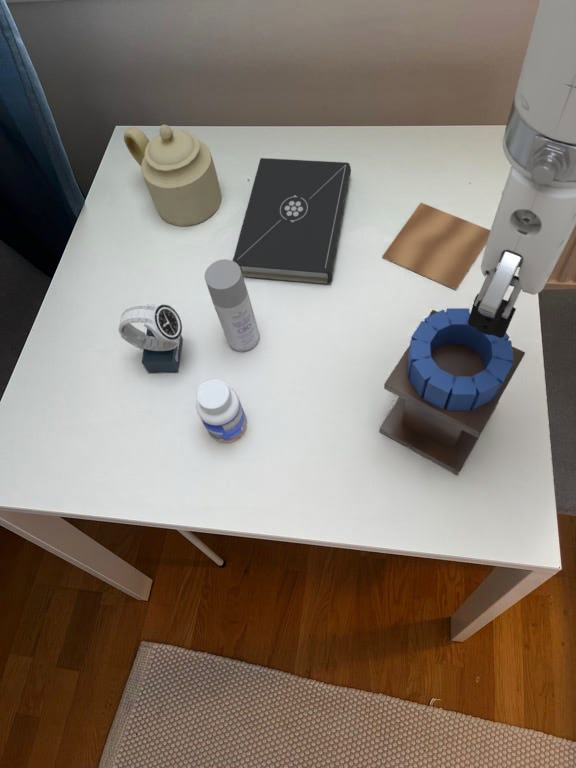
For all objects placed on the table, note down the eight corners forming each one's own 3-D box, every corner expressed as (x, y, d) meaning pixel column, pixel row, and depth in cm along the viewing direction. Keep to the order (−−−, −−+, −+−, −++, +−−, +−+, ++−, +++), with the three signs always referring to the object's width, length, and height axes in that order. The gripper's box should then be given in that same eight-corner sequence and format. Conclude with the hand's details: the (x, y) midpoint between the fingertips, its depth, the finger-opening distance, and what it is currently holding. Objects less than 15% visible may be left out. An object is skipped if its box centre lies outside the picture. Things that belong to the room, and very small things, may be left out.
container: (247, 357, 81) (227, 296, 68) (221, 343, 83) (195, 280, 69) (266, 332, 83) (249, 267, 70) (239, 319, 84) (218, 252, 71)
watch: (192, 372, 81) (170, 331, 71) (136, 373, 82) (107, 332, 72) (196, 337, 84) (175, 293, 74) (142, 339, 85) (114, 295, 75)
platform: (496, 405, 74) (525, 352, 62) (457, 475, 71) (479, 434, 58) (419, 367, 78) (432, 309, 66) (378, 431, 75) (384, 383, 62)
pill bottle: (199, 425, 77) (180, 394, 69) (229, 398, 79) (213, 364, 70) (226, 451, 75) (209, 423, 67) (256, 423, 77) (243, 392, 68)
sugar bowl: (127, 224, 95) (90, 151, 81) (144, 174, 100) (112, 97, 86) (215, 228, 92) (191, 153, 79) (228, 177, 97) (208, 98, 84)
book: (331, 285, 85) (331, 272, 83) (235, 276, 88) (231, 264, 85) (351, 176, 94) (351, 162, 92) (262, 171, 97) (260, 157, 94)
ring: (519, 353, 62) (529, 334, 58) (477, 427, 59) (485, 412, 55) (434, 314, 65) (439, 293, 62) (390, 382, 62) (392, 364, 58)
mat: (492, 233, 87) (493, 231, 86) (455, 290, 83) (456, 288, 82) (420, 204, 90) (420, 202, 90) (382, 257, 87) (382, 256, 86)
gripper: (583, 246, 32) (511, 382, 47) (674, 56, 38) (584, 232, 53) (455, 203, 34) (426, 345, 50) (560, 30, 40) (504, 206, 55)
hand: (507, 287), depth 51 cm, fingers open, 9 cm apart
